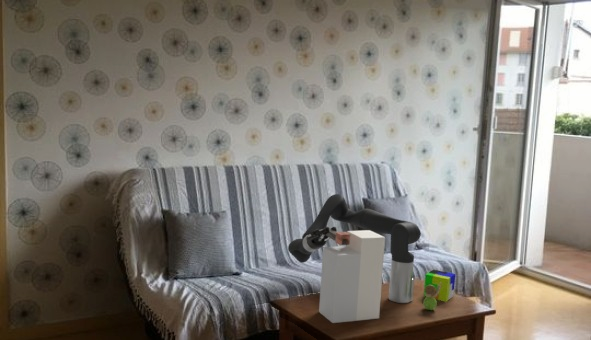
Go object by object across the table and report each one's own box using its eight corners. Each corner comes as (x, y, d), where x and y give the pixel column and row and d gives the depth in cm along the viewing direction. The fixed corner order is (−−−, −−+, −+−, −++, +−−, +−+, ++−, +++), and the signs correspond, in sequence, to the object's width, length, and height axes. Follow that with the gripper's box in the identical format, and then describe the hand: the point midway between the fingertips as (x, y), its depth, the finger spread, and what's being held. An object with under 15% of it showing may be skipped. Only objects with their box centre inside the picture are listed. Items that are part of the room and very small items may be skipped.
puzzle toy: (453, 296, 272) (455, 274, 271) (445, 301, 264) (447, 279, 262) (431, 291, 277) (433, 269, 276) (423, 296, 269) (425, 274, 268)
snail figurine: (438, 313, 249) (441, 284, 247) (422, 311, 250) (425, 282, 249) (438, 308, 254) (441, 280, 253) (422, 306, 255) (425, 278, 254)
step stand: (363, 307, 250) (369, 230, 246) (379, 318, 239) (385, 237, 235) (319, 312, 242) (324, 232, 238) (332, 323, 231) (338, 239, 227)
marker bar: (330, 233, 249) (331, 224, 248) (349, 244, 234) (350, 234, 234) (321, 234, 247) (322, 224, 247) (339, 245, 233) (340, 234, 232)
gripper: (330, 248, 260) (349, 237, 245) (300, 250, 254) (317, 239, 239) (327, 231, 262) (345, 219, 247) (297, 232, 257) (314, 220, 242)
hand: (331, 229), depth 244 cm, fingers closed on marker bar, 2 cm apart
